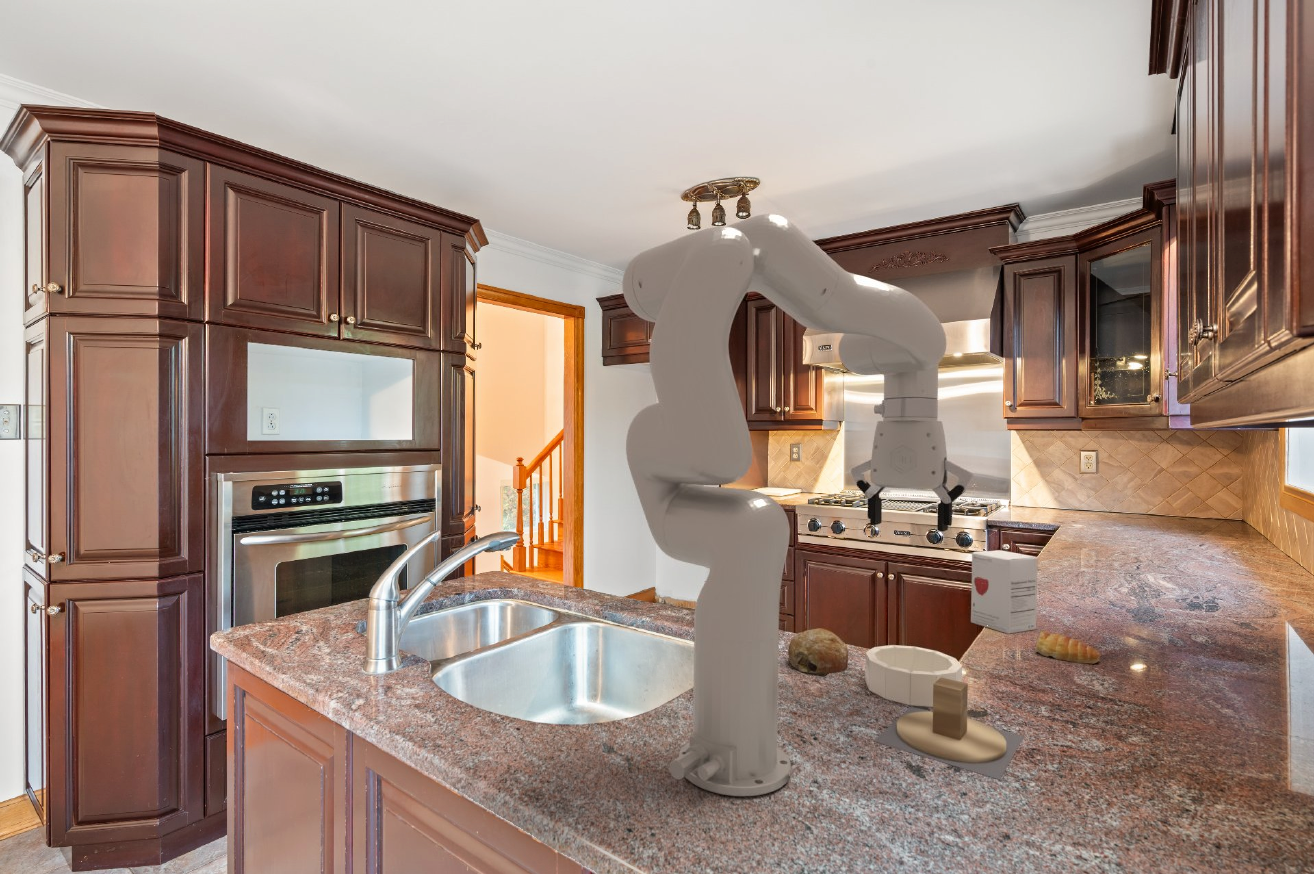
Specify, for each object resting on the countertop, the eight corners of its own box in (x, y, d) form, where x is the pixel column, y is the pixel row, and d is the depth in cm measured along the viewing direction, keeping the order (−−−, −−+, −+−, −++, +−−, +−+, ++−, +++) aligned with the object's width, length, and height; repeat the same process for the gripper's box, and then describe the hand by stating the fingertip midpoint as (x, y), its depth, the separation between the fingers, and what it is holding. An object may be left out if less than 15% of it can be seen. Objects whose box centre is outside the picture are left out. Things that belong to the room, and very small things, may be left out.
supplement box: (969, 622, 137) (969, 551, 137) (998, 618, 141) (999, 549, 141) (1008, 634, 129) (1009, 558, 129) (1038, 629, 133) (1039, 556, 133)
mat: (999, 785, 71) (999, 779, 71) (873, 745, 80) (873, 740, 80) (1024, 740, 82) (1024, 736, 82) (910, 710, 91) (910, 706, 91)
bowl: (945, 718, 88) (946, 681, 88) (853, 693, 97) (853, 660, 97) (970, 691, 98) (970, 657, 99) (884, 670, 107) (884, 640, 107)
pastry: (1103, 660, 115) (1103, 638, 115) (1094, 669, 110) (1095, 647, 110) (1043, 647, 121) (1043, 627, 121) (1032, 656, 116) (1033, 634, 116)
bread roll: (783, 687, 109) (777, 650, 106) (799, 646, 117) (794, 610, 114) (844, 699, 104) (840, 660, 101) (855, 655, 112) (852, 618, 109)
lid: (993, 774, 72) (994, 713, 72) (882, 740, 80) (883, 685, 80) (1015, 736, 82) (1016, 682, 82) (914, 709, 90) (915, 660, 90)
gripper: (844, 411, 99) (842, 524, 99) (967, 409, 89) (965, 535, 88) (861, 414, 105) (859, 520, 105) (979, 412, 94) (977, 530, 94)
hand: (908, 527), depth 97 cm, fingers open, 9 cm apart
